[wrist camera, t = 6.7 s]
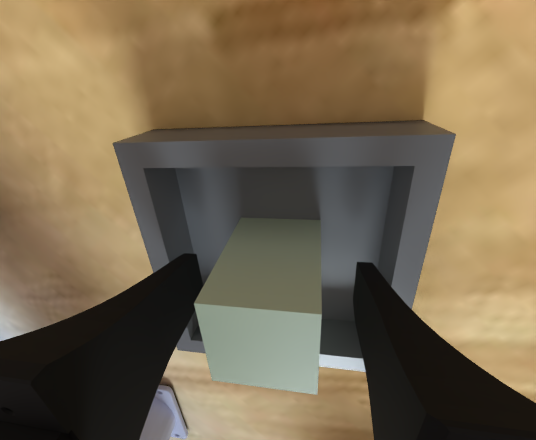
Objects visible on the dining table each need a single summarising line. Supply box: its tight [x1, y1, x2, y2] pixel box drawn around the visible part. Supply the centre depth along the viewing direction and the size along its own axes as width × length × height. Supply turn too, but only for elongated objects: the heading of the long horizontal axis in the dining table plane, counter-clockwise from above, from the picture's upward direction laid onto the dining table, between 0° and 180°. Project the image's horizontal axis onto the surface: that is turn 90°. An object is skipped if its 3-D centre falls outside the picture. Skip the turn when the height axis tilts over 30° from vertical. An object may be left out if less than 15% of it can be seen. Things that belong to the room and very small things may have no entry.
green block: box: [194, 218, 322, 395], centre depth 12 cm, size 4×4×6 cm
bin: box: [113, 120, 456, 372], centre depth 14 cm, size 12×12×3 cm
